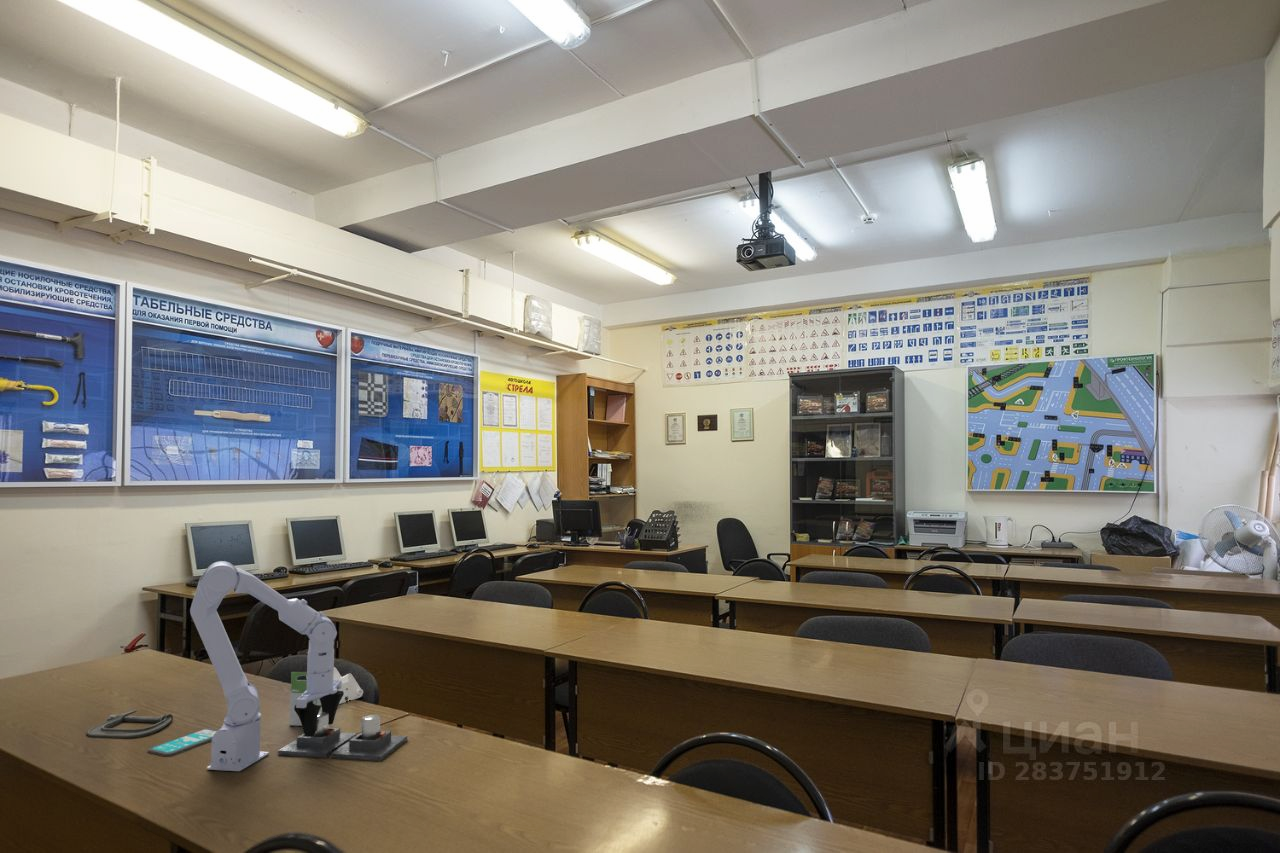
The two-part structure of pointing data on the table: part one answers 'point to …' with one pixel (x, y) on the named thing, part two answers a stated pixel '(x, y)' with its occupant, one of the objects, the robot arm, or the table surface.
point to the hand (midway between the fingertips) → (318, 729)
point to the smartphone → (184, 743)
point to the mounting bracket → (348, 686)
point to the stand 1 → (317, 744)
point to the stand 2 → (369, 747)
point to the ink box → (295, 692)
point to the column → (370, 727)
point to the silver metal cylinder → (321, 725)
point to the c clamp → (114, 720)
